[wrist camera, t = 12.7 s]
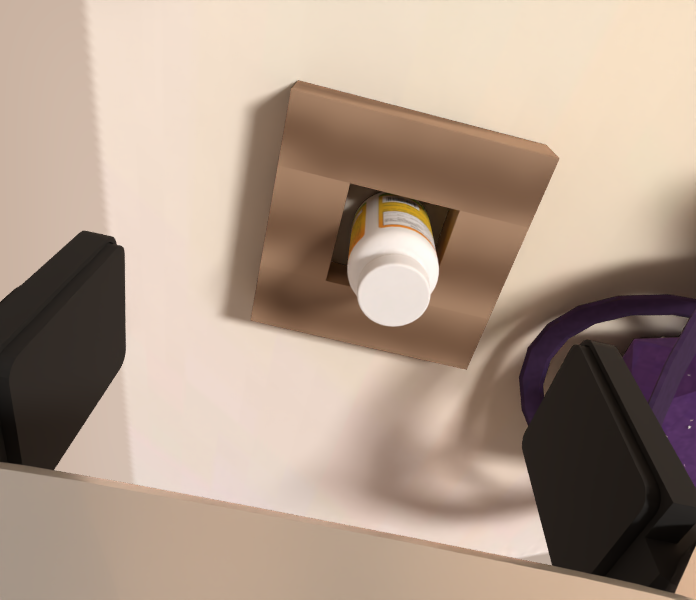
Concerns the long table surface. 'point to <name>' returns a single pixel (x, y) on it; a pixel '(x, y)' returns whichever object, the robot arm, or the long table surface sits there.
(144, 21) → the long table surface
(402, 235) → the supplement bottle
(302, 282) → the socket block
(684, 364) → the purple looped device
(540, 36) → the long table surface
